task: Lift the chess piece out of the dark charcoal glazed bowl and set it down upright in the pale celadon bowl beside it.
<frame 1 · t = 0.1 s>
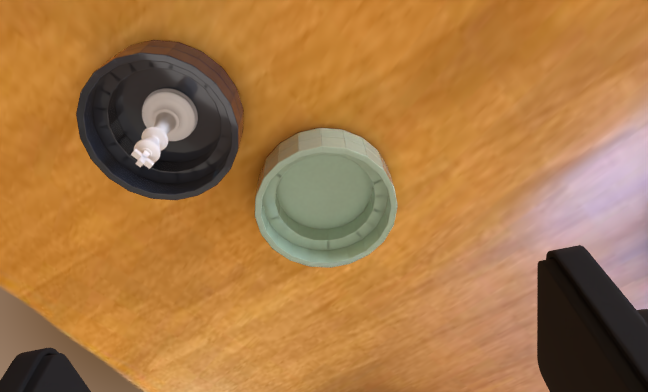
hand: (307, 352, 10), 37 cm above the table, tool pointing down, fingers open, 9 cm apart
dark bowl: (171, 113, 46), on the table
chess piece: (171, 113, 45), resting on dark bowl
green bowl: (324, 187, 50), on the table
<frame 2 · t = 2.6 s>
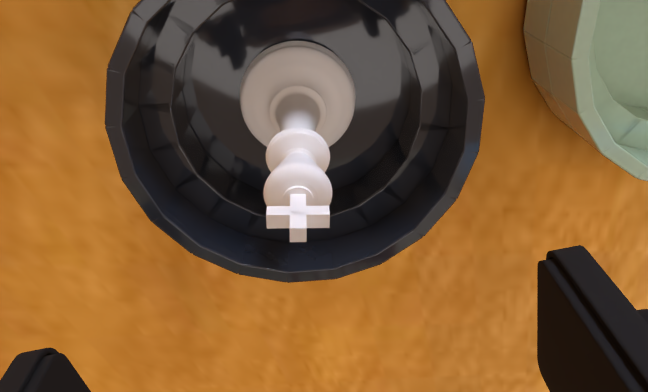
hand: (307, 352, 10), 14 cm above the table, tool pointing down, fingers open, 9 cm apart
dark bowl: (297, 96, 22), on the table
chess piece: (297, 97, 21), resting on dark bowl
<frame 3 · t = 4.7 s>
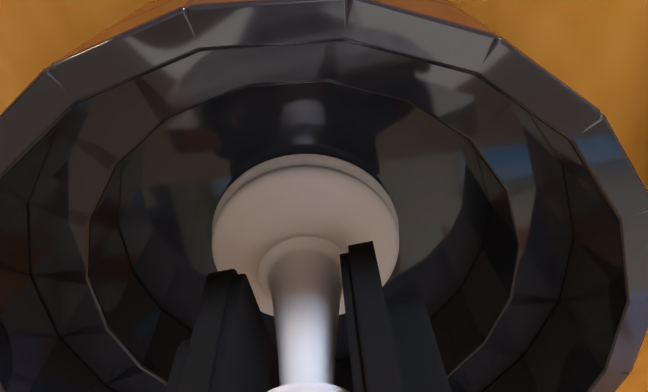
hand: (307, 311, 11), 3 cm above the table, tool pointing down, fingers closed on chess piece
dark bowl: (305, 229, 13), on the table
chess piece: (306, 232, 13), resting on dark bowl, touching gripper
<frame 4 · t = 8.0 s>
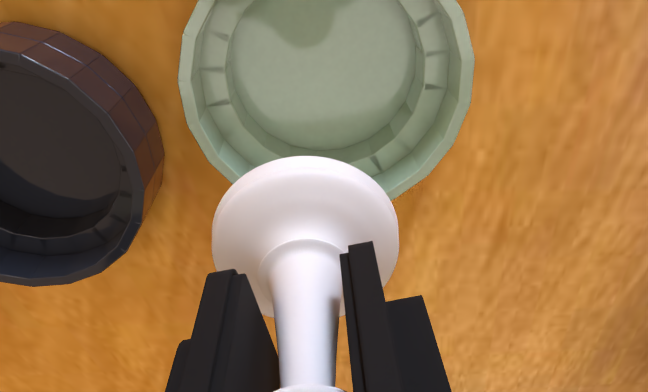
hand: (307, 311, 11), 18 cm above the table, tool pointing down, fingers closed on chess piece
dark bowl: (45, 143, 28), on the table
chess piece: (305, 233, 13), point 15 cm above the table, touching gripper
green bowl: (323, 64, 26), on the table
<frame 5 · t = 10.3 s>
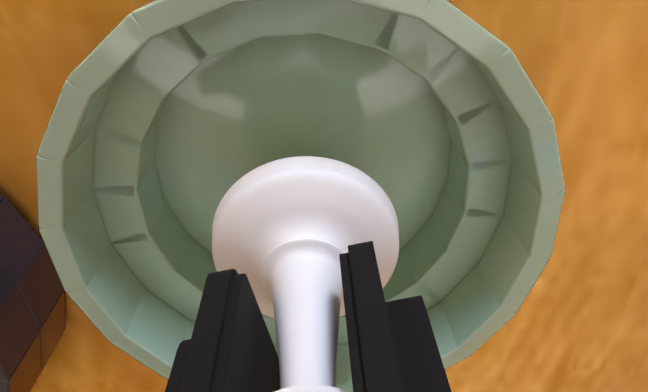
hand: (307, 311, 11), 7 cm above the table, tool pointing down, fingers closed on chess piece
chess piece: (306, 234, 13), point 4 cm above the table, touching gripper
green bowl: (304, 165, 17), on the table
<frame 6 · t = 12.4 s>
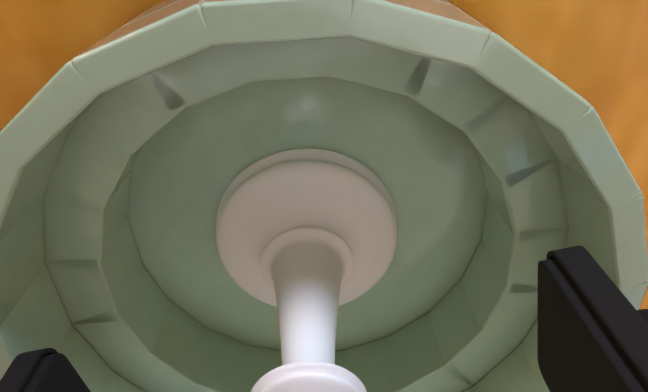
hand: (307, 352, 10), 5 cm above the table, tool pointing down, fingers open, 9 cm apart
chess piece: (307, 224, 14), resting on green bowl
green bowl: (309, 222, 14), on the table
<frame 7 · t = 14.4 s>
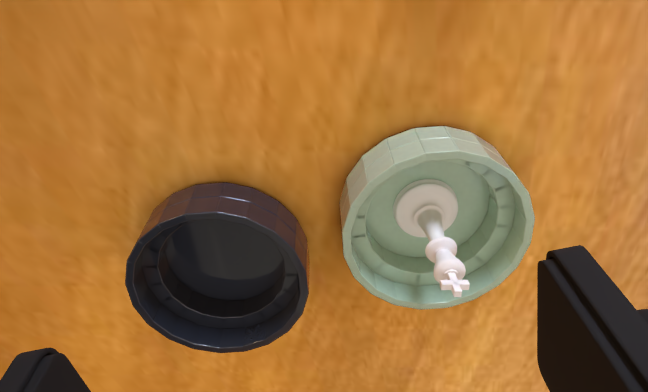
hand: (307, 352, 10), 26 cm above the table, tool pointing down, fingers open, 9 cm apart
dark bowl: (226, 252, 40), on the table
chess piece: (424, 205, 38), resting on green bowl
green bowl: (424, 204, 38), on the table
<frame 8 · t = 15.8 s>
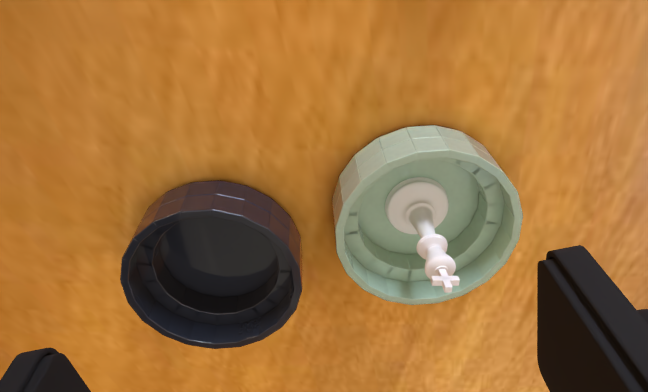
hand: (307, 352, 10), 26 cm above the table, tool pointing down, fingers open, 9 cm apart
dark bowl: (221, 249, 41), on the table
chess piece: (415, 203, 39), resting on green bowl
green bowl: (416, 202, 39), on the table
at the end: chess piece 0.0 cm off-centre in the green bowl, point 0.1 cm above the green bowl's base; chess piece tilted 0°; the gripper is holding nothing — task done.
